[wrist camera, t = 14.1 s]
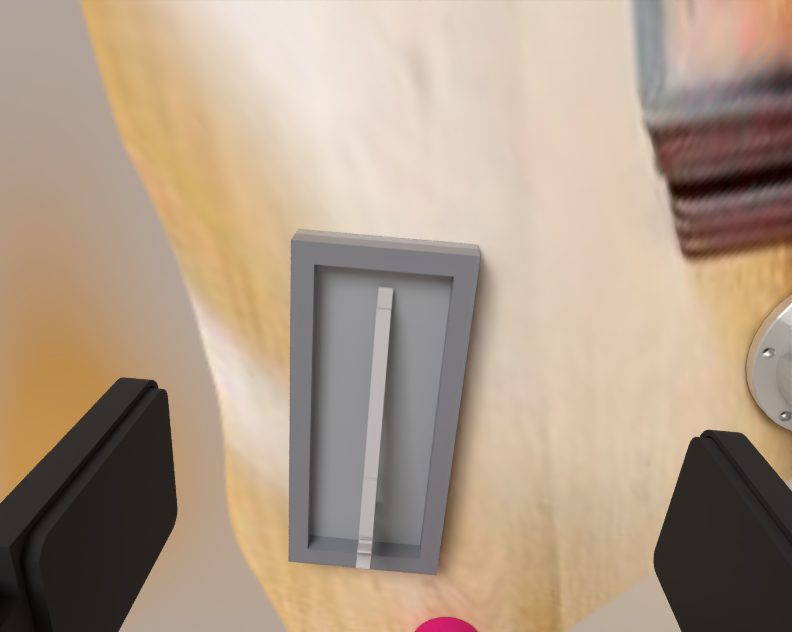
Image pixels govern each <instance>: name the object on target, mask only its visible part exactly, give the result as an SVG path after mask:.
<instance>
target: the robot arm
mask: <svg viewBox="0 0 792 632" xmlns="http://www.w3.org/2000/svg"><path fill="white" fill-rule="evenodd" d="M746 371H747V382H748V386H749V389H750V392H751V395H752V396H753V398H754V400H755V401H756V403H757V405H758V406H759V407H760V408H761V409H762V410H763V411H764V412H765V414H766V415H767V416H768V417H769V418H771V419H772V420H773V421H774V422H775V423H777V424H778V425H780V426H782V427H784V428H786V429H788V430H790V431H792V294H791V295H790V296H789V297H788V298H786V299H785V300H784V301H783V302H781V303H780V304H779V305H778V306H777V307H776V308H775V309H774V310H773V311H772V312H771V314H770V315H769V316H768V317H767V318H766V319H765V320H764V322H763V324H762V325H761V327H760V328H759V330H758V331H757V333H756V335H755V337H754V339H753V342H752V344H751V347H750V349H749V353H748V359H747V364H746ZM176 517H177V498H176V486H175V474H174V463H173V451H172V440H171V428H170V416H169V405H168V396H167V392H166V390H164V389H159V388H158V385H157V383H156V382H155V381H154V380H146V379H135V378H120V379H118V380H117V381H116V382H115V383H114V384H113V385H112V387H110V389H109V390H108V391H107V392H106V393H105V394H104V395H103V396H102V397H101V398H100V399H99V400H98V401H97V403H96V404H94V406H93V407H92V408H91V409H90V410H89V411H88V412H87V413H86V414H85V415H84V416H83V417H82V418H81V419H80V420H79V421H78V423H77V424H76V425H75V426H74V427H73V428H72V429H71V430H70V431H69V432H68V433H67V434H66V435H65V436H64V437H63V438H62V439H61V440H60V442H59V443H58V444H57V445H56V446H55V447H54V448H53V449H52V450H51V451H50V452H49V453H48V454H47V455H46V456H45V457H44V458H43V459H42V460H41V461H40V462H39V463H38V464H37V465H36V467H34V469H33V470H32V471H31V472H30V473H29V474H28V475H27V476H26V477H25V478H24V479H23V480H22V481H21V482H20V483H19V484H18V485H17V486H16V487H15V489H14V490H13V491H12V492H11V493H10V494H9V495H8V496H7V497H6V498H5V499H4V500H3V501H2V502H1V503H0V632H118V631H119V630H120V628H121V626H122V624H123V622H124V620H125V618H126V616H127V615H128V613H129V611H130V609H131V607H132V605H133V603H134V601H135V599H136V598H137V596H138V594H139V592H140V590H141V588H142V586H143V584H144V583H145V581H146V579H147V577H148V575H149V573H150V571H151V569H152V567H153V566H154V564H155V562H156V560H157V558H158V556H159V554H160V552H161V551H162V549H163V547H164V545H165V543H166V541H167V539H168V537H169V535H170V534H171V532H172V530H173V527H174V525H175V521H176ZM654 568H655V572H656V575H657V577H658V579H659V582H660V584H661V586H662V588H663V591H664V593H665V595H666V597H667V600H668V602H669V604H670V606H671V609H672V611H673V613H674V615H675V618H676V620H677V622H678V624H679V627H680V629H681V631H682V632H792V491H791V490H790V489H789V487H788V486H787V485H786V484H785V483H784V481H783V480H782V479H781V478H780V477H779V475H778V474H777V473H776V472H775V471H774V469H773V468H772V467H771V466H770V465H769V463H768V462H767V461H766V460H765V459H764V458H763V456H762V455H761V454H760V453H759V452H758V450H757V449H756V448H755V447H754V446H753V444H752V443H751V442H750V441H749V440H748V438H747V437H746V436H745V435H743V434H742V433H738V432H727V431H716V430H706V431H704V432H703V433H702V434H701V435H700V437H694V438H693V439H692V440H691V442H690V444H689V447H688V450H687V453H686V456H685V459H684V462H683V465H682V468H681V471H680V474H679V477H678V480H677V483H676V487H675V490H674V493H673V496H672V499H671V502H670V505H669V508H668V511H667V514H666V517H665V520H664V523H663V527H662V530H661V533H660V536H659V539H658V542H657V545H656V548H655V552H654Z"/></svg>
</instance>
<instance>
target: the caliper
mask: <svg viewBox="0 0 792 632" xmlns="http://www.w3.org/2000/svg"><path fill="white" fill-rule="evenodd" d="M392 298H393V288H389V287H379V288H378V300H377V309H376V322H375V335H374V348H373V361H372V374H371V387H370V401H369V414H368V427H367V440H366V453H365V466H364V478H363V489H362V502H361V515H360V528H359V543H358V548H357V553H358V554H357V561H356V568H362V569H370V564H371V556H372V547H373V538H374V529H375V514H376V505H377V501H376V497H377V486H378V473H379V459H380V446H381V434H382V422H383V410H384V397H385V385H386V373H387V361H388V348H389V336H390V324H391V312H392Z"/></svg>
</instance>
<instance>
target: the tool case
mask: <svg viewBox="0 0 792 632" xmlns="http://www.w3.org/2000/svg"><path fill="white" fill-rule="evenodd" d="M480 258H481V256H480V252H479V248H478V245H474V244H462V243H451V242H439V241H428V240H416V239H404V238H393V237H381V236H370V235H358V234H347V233H335V232H324V231H312V230H301V229H299V230H298V231H297V232H296V234H295V235H294V236H293V238H292V239H291V313H290V449H289V562H299V563H310V564H321V565H332V566H343V567H353V568H356V561H357V554H358V553H357V548H358V543H359V528H360V515H361V502H362V489H363V478H364V466H365V453H366V440H367V427H368V414H369V401H370V387H371V374H372V361H373V348H374V335H375V322H376V309H377V300H378V288H379V287H389V288H393V298H392V312H391V324H390V336H389V348H388V361H387V373H386V385H385V397H384V410H383V422H382V434H381V446H380V459H379V473H378V486H377V497H376V501H377V505H376V514H375V529H374V538H373V547H372V556H371V564H370V569H375V570H386V571H397V572H408V573H418V574H429V575H437V568H438V561H439V554H440V546H441V539H442V532H443V525H444V518H445V510H446V503H447V496H448V489H449V481H450V474H451V467H452V460H453V453H454V445H455V438H456V431H457V424H458V417H459V409H460V402H461V395H462V388H463V380H464V373H465V366H466V359H467V352H468V344H469V337H470V330H471V323H472V315H473V308H474V301H475V294H476V287H477V279H478V272H479V265H480Z"/></svg>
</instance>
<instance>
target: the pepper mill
mask: <svg viewBox="0 0 792 632" xmlns="http://www.w3.org/2000/svg"><path fill="white" fill-rule="evenodd" d="M415 632H477V631H476V630H475V629H474V628H473V627H472V626H471V625H469V624H468V623H466V622H464V621H462V620H460V619H455V618H450V617H441V618H436V619H431V620H429V621H427V622H425V623H423V624H422V625H420V626H419V627H418V628H417V629H416V631H415Z"/></svg>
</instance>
